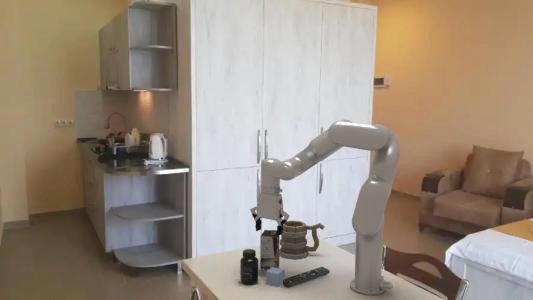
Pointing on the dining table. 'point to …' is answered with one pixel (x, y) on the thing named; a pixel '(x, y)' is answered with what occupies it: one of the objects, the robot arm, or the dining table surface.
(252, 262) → the supplement bottle
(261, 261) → the coffee box
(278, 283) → the dusty-blue block
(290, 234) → the tankard
